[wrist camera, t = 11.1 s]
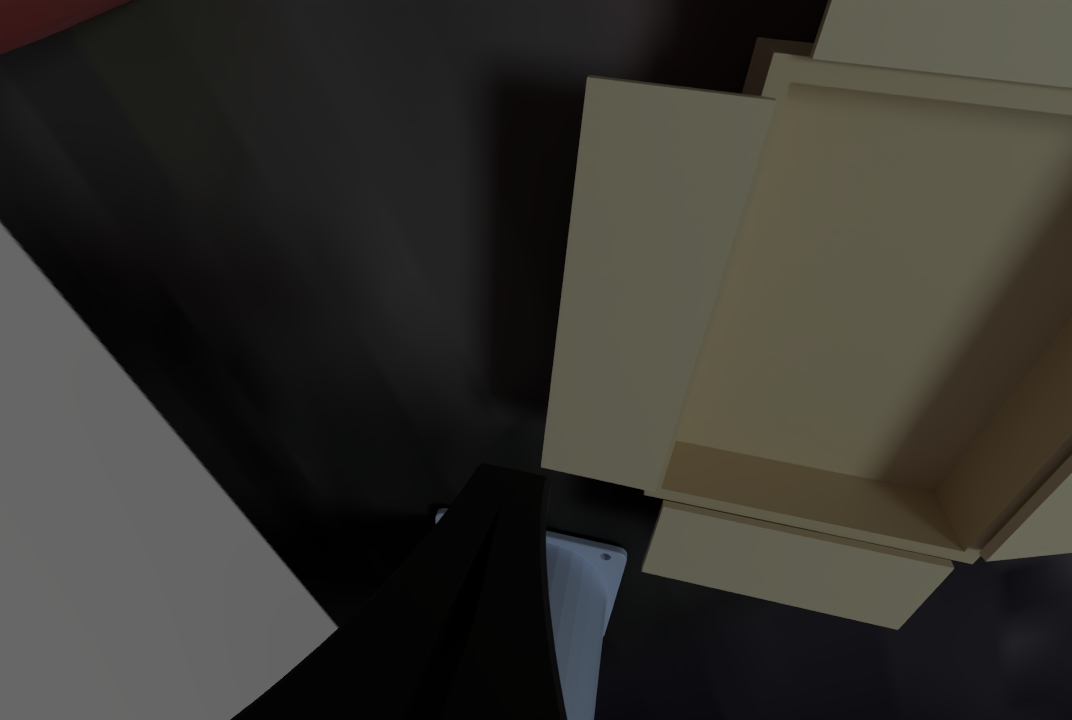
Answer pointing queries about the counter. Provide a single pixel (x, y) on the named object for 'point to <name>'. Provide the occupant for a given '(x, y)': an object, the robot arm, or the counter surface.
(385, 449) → the counter surface
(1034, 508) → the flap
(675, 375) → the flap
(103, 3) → the flower pot
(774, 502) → the carton
